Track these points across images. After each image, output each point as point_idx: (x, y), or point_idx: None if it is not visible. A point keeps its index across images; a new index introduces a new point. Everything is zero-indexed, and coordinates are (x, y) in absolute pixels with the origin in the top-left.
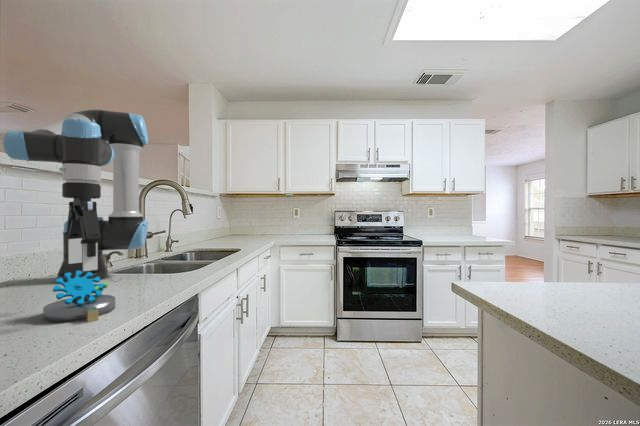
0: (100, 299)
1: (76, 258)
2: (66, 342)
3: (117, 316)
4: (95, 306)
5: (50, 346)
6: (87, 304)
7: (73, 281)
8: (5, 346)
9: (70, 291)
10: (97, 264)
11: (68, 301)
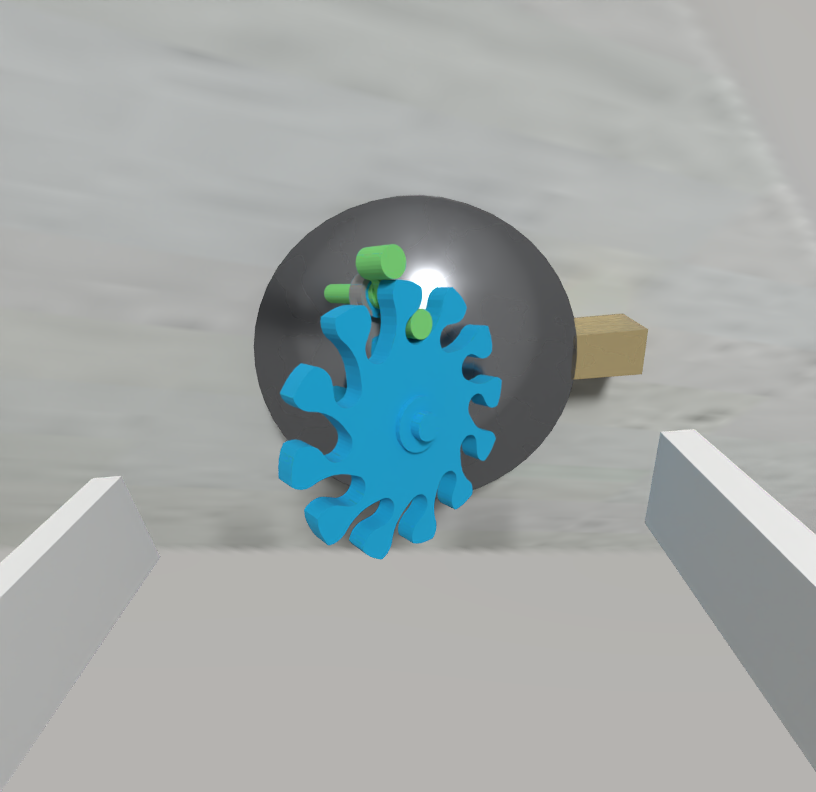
0: (423, 283)
1: (108, 549)
2: (794, 437)
3: (646, 228)
4: (571, 331)
5: (780, 473)
6: (489, 355)
7: (387, 470)
8: (644, 551)
9: (445, 458)
10: (726, 460)
11: (489, 445)
